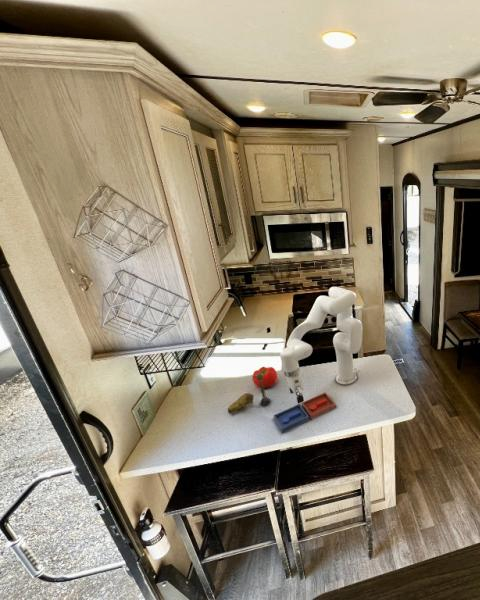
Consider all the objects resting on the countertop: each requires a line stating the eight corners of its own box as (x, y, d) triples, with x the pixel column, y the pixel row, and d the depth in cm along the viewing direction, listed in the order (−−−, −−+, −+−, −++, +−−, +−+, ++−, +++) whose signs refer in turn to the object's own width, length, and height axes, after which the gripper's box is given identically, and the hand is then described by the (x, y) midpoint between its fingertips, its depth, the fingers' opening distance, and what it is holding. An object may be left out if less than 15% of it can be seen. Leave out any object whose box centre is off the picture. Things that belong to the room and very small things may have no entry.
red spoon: (325, 400, 183) (324, 397, 182) (328, 404, 181) (327, 400, 180) (309, 408, 178) (308, 404, 177) (311, 412, 175) (311, 408, 174)
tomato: (280, 377, 205) (278, 363, 200) (274, 391, 193) (271, 376, 188) (258, 378, 204) (255, 364, 200) (251, 392, 192) (247, 377, 188)
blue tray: (300, 407, 180) (299, 403, 179) (309, 420, 171) (308, 416, 170) (274, 419, 172) (273, 415, 171) (282, 433, 163) (281, 429, 162)
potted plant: (257, 406, 181) (251, 376, 173) (260, 400, 185) (253, 371, 177) (268, 405, 181) (262, 375, 173) (271, 399, 186) (264, 370, 178)
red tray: (325, 395, 188) (325, 392, 187) (335, 407, 179) (335, 403, 178) (302, 406, 180) (301, 402, 179) (311, 419, 171) (310, 415, 170)
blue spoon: (299, 412, 175) (298, 409, 174) (301, 416, 172) (301, 413, 171) (281, 421, 170) (280, 417, 169) (283, 425, 167) (283, 421, 166)
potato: (230, 406, 181) (227, 394, 178) (255, 401, 185) (252, 389, 182) (228, 416, 174) (225, 404, 171) (254, 410, 178) (251, 399, 174)
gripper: (305, 375, 161) (310, 402, 168) (292, 360, 173) (297, 385, 180) (290, 382, 157) (296, 409, 164) (278, 365, 169) (284, 391, 176)
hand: (297, 397), depth 172 cm, fingers open, 9 cm apart
